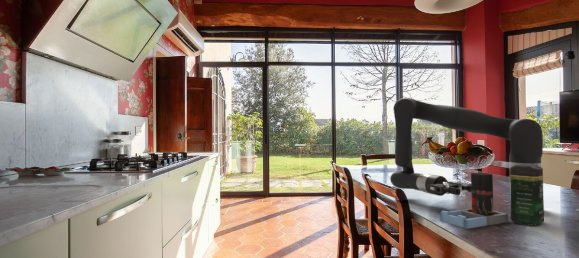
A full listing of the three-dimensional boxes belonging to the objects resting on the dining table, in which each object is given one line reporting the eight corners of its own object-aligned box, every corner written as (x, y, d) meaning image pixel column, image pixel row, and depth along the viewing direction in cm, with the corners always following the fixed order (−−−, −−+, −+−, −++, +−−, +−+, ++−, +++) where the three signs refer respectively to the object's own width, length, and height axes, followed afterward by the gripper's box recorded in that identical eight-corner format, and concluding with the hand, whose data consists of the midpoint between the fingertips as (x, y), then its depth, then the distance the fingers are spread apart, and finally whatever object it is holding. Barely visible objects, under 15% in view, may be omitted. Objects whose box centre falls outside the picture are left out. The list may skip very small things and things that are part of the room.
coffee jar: (540, 228, 87) (537, 165, 88) (507, 222, 93) (505, 163, 94) (548, 222, 93) (545, 163, 94) (517, 217, 99) (515, 161, 100)
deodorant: (494, 223, 93) (492, 175, 93) (472, 220, 96) (470, 174, 96) (493, 218, 98) (492, 173, 98) (472, 216, 101) (470, 172, 101)
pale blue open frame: (479, 214, 103) (479, 205, 103) (507, 221, 94) (507, 211, 94) (440, 220, 97) (439, 210, 97) (466, 228, 88) (465, 217, 88)
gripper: (417, 175, 115) (452, 181, 99) (445, 173, 120) (483, 178, 104) (417, 195, 115) (453, 204, 99) (445, 192, 119) (484, 200, 104)
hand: (468, 191), depth 102 cm, fingers open, 8 cm apart
